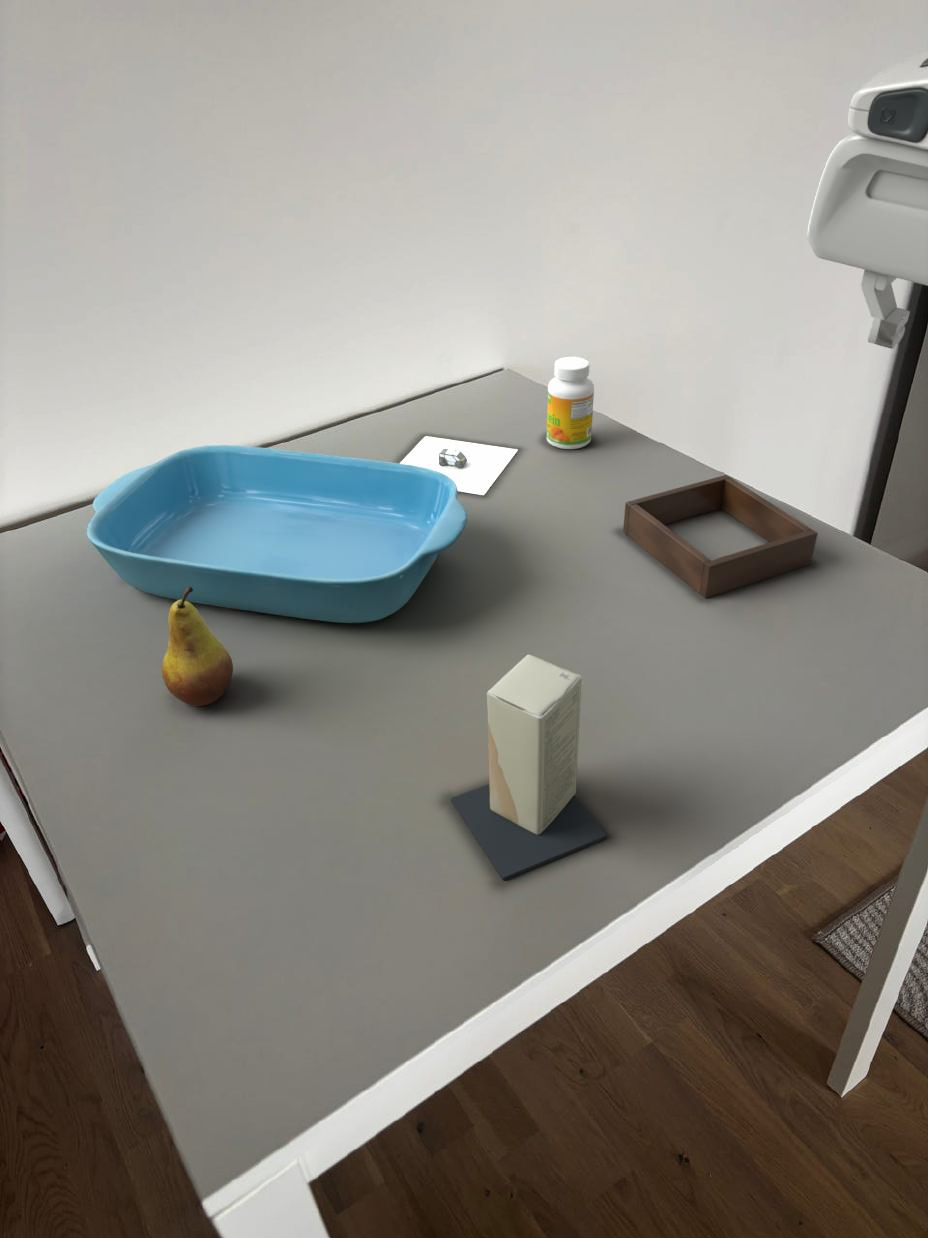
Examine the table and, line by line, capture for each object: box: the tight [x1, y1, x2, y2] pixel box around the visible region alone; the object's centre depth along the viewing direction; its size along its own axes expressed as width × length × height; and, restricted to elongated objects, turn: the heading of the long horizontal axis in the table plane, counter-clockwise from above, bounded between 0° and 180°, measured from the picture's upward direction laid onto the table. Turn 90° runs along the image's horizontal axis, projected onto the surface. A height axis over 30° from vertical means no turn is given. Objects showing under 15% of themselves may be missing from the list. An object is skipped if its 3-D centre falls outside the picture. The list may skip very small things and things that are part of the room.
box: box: [486, 654, 582, 835], centre depth 65 cm, size 5×4×11 cm
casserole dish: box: [86, 444, 468, 624], centre depth 93 cm, size 37×22×7 cm, turn 74°
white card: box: [398, 435, 519, 496], centre depth 112 cm, size 12×12×2 cm
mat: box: [450, 783, 608, 881], centre depth 68 cm, size 8×8×1 cm
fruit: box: [161, 586, 234, 707], centre depth 76 cm, size 6×6×12 cm
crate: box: [622, 474, 818, 599], centre depth 95 cm, size 14×13×4 cm
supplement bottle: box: [546, 356, 595, 450], centre depth 114 cm, size 5×5×10 cm
